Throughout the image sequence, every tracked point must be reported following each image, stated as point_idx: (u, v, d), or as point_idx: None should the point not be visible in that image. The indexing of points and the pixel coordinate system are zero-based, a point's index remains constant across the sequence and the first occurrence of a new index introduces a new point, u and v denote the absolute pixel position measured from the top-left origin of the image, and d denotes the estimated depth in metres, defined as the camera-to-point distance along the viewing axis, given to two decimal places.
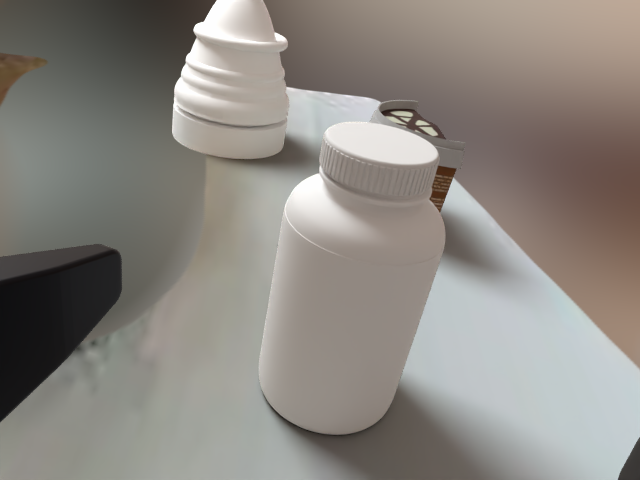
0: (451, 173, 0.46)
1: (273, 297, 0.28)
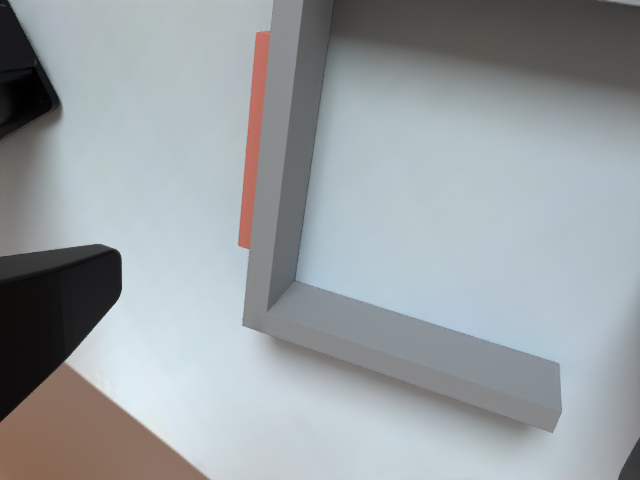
0: None
1: None
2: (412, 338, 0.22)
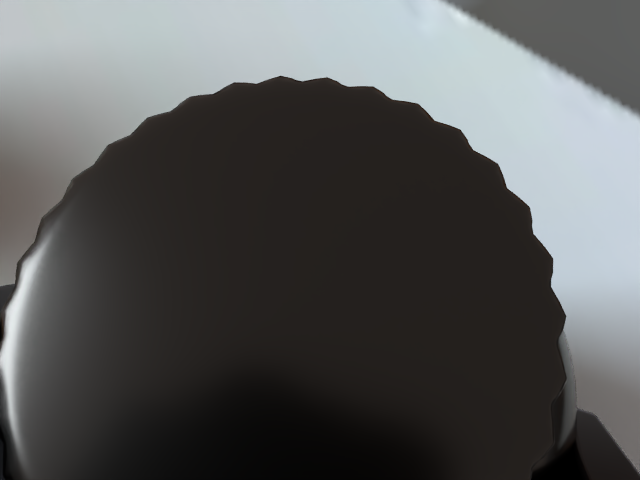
0: None
1: None
2: None
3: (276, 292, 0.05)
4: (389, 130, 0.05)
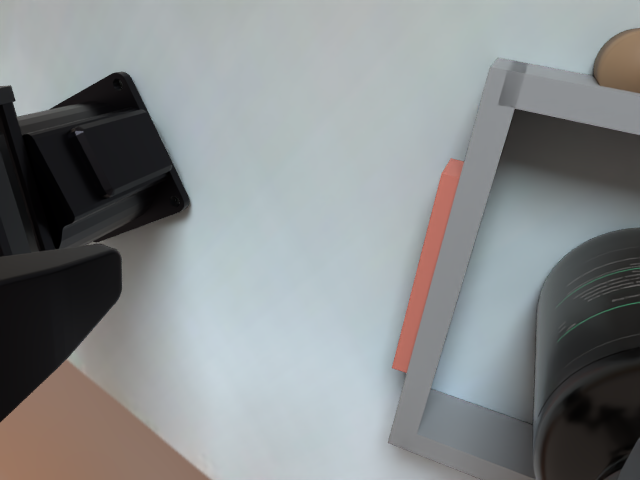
0: None
1: None
2: None
3: None
4: None
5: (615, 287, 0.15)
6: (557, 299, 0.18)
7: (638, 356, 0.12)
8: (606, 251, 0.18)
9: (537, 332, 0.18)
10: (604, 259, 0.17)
